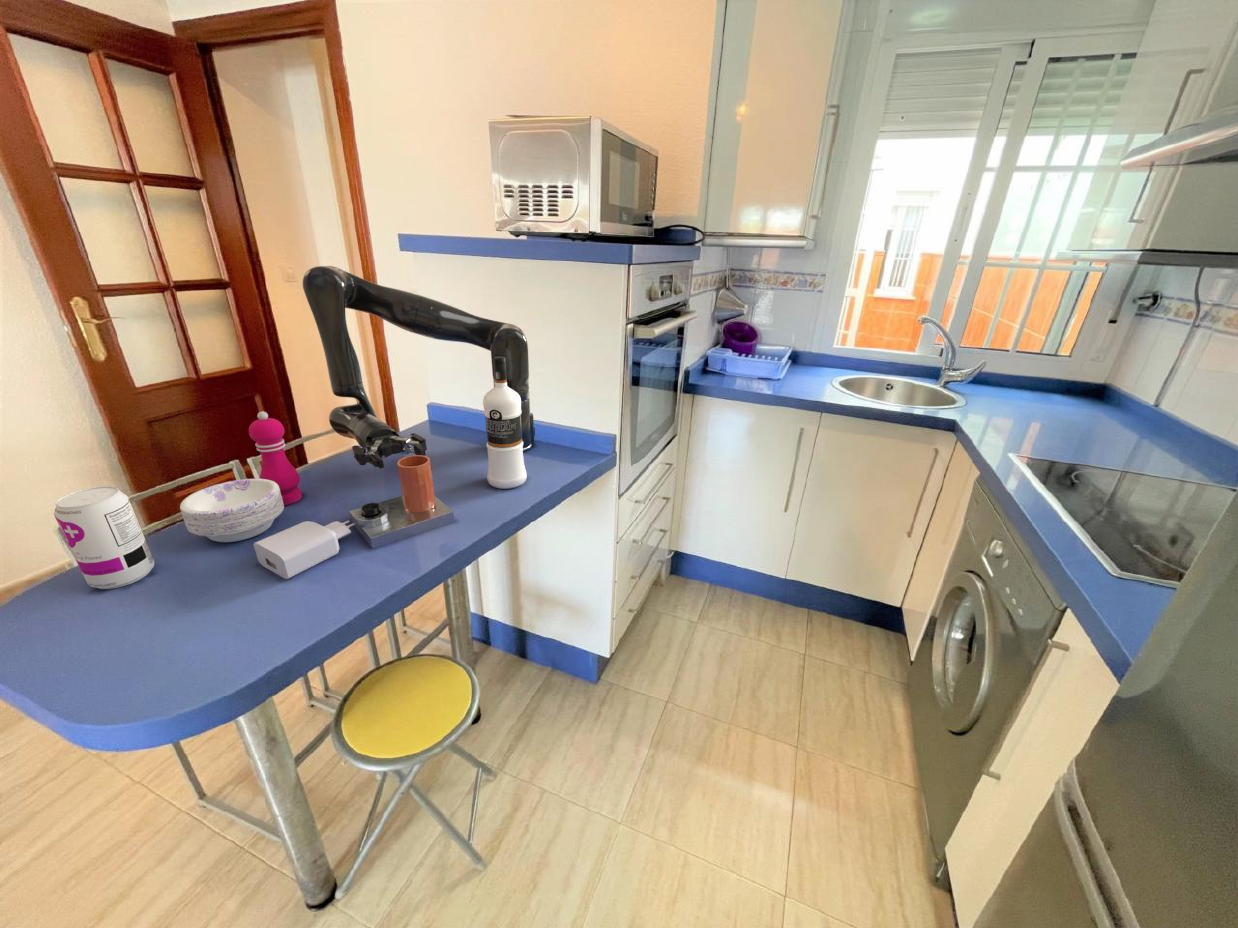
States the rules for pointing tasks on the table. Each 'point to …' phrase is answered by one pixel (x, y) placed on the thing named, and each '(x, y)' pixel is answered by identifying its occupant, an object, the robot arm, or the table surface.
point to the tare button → (370, 510)
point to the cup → (416, 483)
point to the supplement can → (104, 536)
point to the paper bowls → (233, 509)
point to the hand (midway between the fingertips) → (402, 458)
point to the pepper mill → (275, 457)
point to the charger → (300, 547)
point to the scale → (398, 521)
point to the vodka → (504, 432)
